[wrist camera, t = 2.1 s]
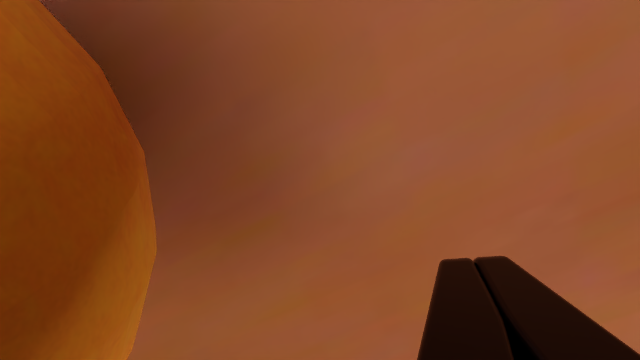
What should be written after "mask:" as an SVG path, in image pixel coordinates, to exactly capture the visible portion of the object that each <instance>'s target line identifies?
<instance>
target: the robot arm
mask: <svg viewBox="0 0 640 360" xmlns="http://www.w3.org/2000/svg"><path fill="white" fill-rule="evenodd" d="M417 360H640V354H638V353H637V352H636V351H634V350H633V349H632V348H630V347H629V346H627V345H626V344H625V343H623V342H622V341H621V340H619V339H618V338H617V337H615V336H614V335H612V334H611V333H610V332H608V331H607V330H606V329H604V328H603V327H602V326H600V325H599V324H597V323H596V322H595V321H593V320H592V319H591V318H589V317H588V316H587V315H585V314H584V313H582V312H581V311H580V310H578V309H577V308H576V307H574V306H573V305H572V304H570V303H569V302H567V301H566V300H565V299H563V298H562V297H561V296H559V295H558V294H557V293H555V292H554V291H552V290H551V289H550V288H548V287H547V286H546V285H544V284H543V283H542V282H540V281H539V280H537V279H536V278H535V277H533V276H532V275H531V274H529V273H528V272H527V271H525V270H524V269H523V268H521V267H520V266H518V265H517V264H516V263H514V262H513V261H512V260H510V259H509V258H507V257H505V256H492V257H478V258H476V259H474V260H473V261H472V260H471V259H469V258H459V259H444V260H442V261H441V262H440V264H439V268H438V272H437V276H436V281H435V285H434V289H433V293H432V298H431V302H430V306H429V311H428V315H427V319H426V324H425V328H424V332H423V337H422V341H421V345H420V350H419V354H418V358H417Z"/></svg>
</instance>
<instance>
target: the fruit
mask: <svg viewBox="0 0 640 360" xmlns="http://www.w3.org/2000/svg"><path fill="white" fill-rule="evenodd" d="M156 253H157V246H156V225H155V219H154V212H153V206H152V199H151V193H150V186H149V180H148V173H147V167H146V160H145V154H144V151H143V149H142V147H141V145H140V143H139V141H138V139H137V137H136V135H135V133H134V131H133V129H132V127H131V125H130V123H129V122H128V120H127V118H126V116H125V114H124V112H123V110H122V108H121V106H120V104H119V102H118V100H117V98H116V96H115V94H114V92H113V91H112V89H111V87H110V85H109V83H108V81H107V79H106V77H105V75H104V73H103V71H102V69H101V68H100V66H99V65H98V64H97V63H96V62H95V61H94V60H93V59H92V57H91V56H90V55H89V54H88V53H87V52H86V51H85V50H84V49H83V48H82V47H81V46H80V44H79V43H78V42H77V41H76V40H75V39H74V38H73V37H72V36H71V35H70V34H69V33H68V32H67V30H66V29H65V28H64V27H63V26H62V25H61V24H60V23H59V22H58V21H57V20H56V19H55V17H54V16H53V15H52V14H51V13H50V12H49V11H48V10H47V9H46V8H45V7H44V6H43V4H42V3H41V2H40V1H39V0H0V360H127V358H128V356H129V354H130V353H131V351H132V348H133V344H134V341H135V337H136V333H137V329H138V326H139V322H140V318H141V314H142V310H143V306H144V302H145V298H146V294H147V289H148V285H149V281H150V277H151V273H152V269H153V265H154V261H155V257H156Z"/></svg>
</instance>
